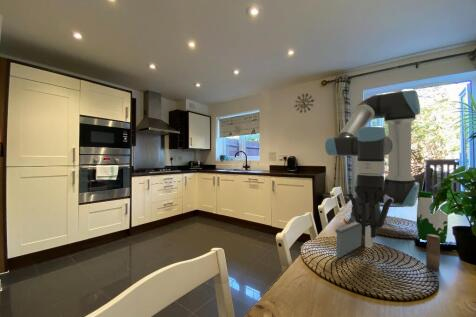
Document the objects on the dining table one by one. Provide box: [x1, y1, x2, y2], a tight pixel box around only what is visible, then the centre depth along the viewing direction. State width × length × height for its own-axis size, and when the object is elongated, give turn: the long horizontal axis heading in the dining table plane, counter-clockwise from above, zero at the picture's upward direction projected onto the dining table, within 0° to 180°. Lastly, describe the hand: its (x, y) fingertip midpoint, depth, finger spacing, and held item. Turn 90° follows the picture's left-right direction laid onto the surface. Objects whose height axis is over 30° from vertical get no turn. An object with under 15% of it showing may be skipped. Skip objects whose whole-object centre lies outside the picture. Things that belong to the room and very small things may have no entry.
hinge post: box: [360, 234, 365, 247], centre depth 82 cm, size 3×3×10 cm
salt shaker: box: [347, 207, 356, 225], centre depth 98 cm, size 6×6×12 cm
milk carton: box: [416, 190, 449, 244], centre depth 85 cm, size 9×9×20 cm
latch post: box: [425, 234, 441, 272], centre depth 65 cm, size 3×3×10 cm
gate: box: [335, 222, 362, 258], centre depth 76 cm, size 16×2×9 cm, turn 127°
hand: (368, 246), depth 70 cm, fingers closed
